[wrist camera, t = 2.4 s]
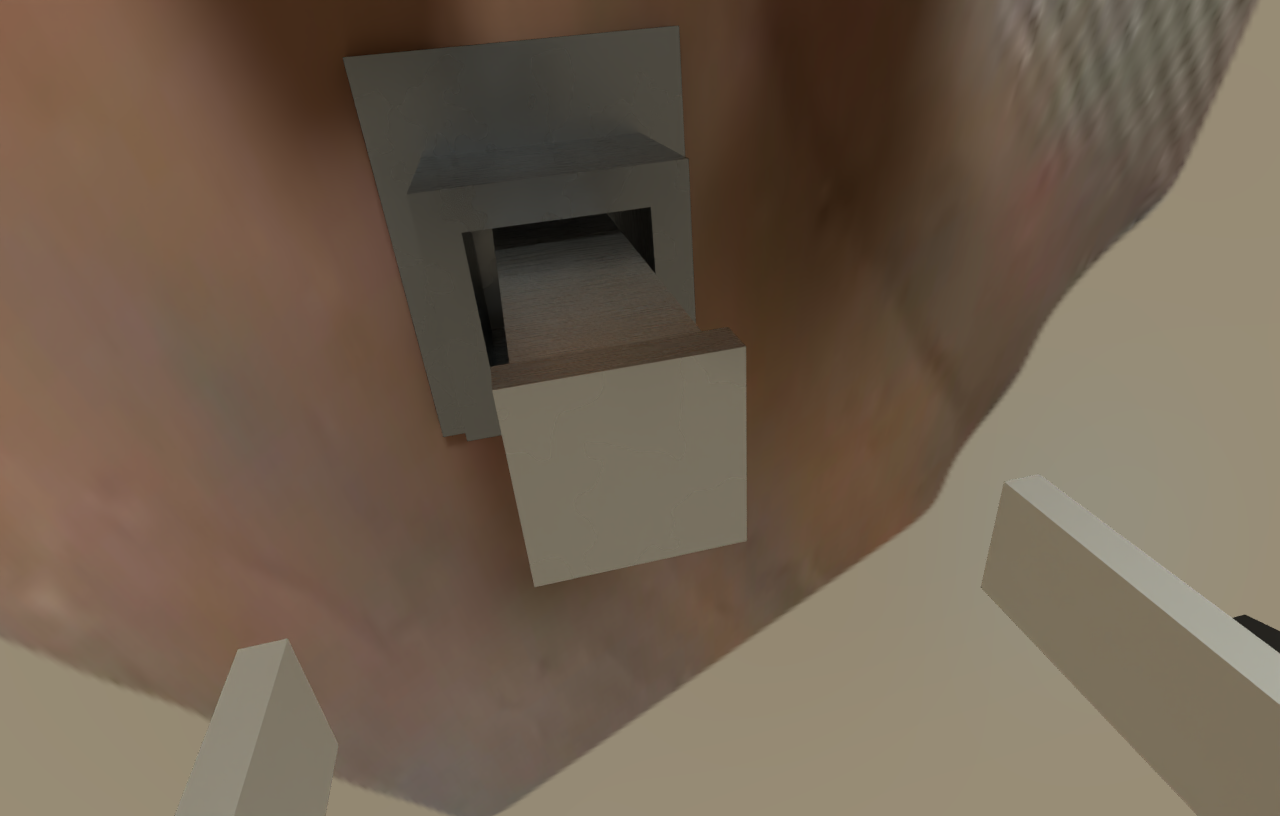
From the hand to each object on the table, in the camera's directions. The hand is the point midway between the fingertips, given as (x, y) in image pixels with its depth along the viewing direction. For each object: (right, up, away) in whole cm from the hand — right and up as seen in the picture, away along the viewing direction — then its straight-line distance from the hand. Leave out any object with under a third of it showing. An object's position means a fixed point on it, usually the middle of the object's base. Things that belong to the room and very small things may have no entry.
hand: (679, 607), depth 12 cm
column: (-5, +11, +20) cm, 23 cm away
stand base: (-5, +12, +21) cm, 25 cm away
